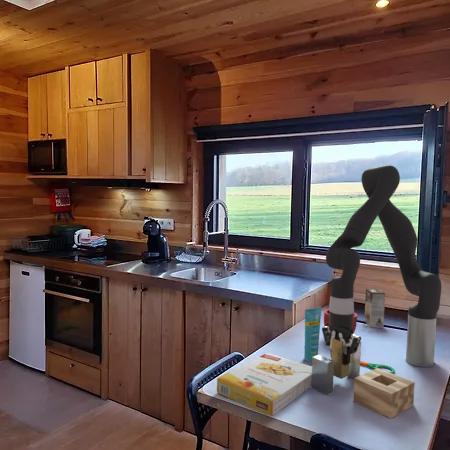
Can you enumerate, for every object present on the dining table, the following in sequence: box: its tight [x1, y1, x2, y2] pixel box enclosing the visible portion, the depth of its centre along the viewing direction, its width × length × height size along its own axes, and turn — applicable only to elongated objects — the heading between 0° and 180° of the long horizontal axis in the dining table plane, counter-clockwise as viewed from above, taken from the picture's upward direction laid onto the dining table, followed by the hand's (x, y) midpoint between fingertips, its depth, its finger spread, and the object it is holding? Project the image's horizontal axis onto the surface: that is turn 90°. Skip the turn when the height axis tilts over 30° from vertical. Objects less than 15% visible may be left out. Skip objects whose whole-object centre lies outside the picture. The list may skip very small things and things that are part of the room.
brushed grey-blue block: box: [310, 354, 335, 396], centre depth 132 cm, size 3×6×10 cm, turn 38°
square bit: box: [330, 338, 349, 380], centre depth 137 cm, size 4×4×12 cm
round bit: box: [346, 341, 362, 380], centre depth 142 cm, size 4×4×12 cm
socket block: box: [352, 368, 416, 419], centre depth 125 cm, size 12×12×7 cm
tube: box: [304, 306, 322, 362], centre depth 156 cm, size 7×5×19 cm, turn 123°
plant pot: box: [323, 308, 358, 341], centre depth 176 cm, size 13×13×12 cm
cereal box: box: [216, 352, 312, 417], centre depth 134 cm, size 20×6×28 cm
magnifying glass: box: [360, 360, 396, 375], centre depth 150 cm, size 15×6×2 cm, turn 51°
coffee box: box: [364, 288, 386, 329], centre depth 197 cm, size 9×6×16 cm
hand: (340, 362), depth 137 cm, fingers closed on square bit, 4 cm apart
